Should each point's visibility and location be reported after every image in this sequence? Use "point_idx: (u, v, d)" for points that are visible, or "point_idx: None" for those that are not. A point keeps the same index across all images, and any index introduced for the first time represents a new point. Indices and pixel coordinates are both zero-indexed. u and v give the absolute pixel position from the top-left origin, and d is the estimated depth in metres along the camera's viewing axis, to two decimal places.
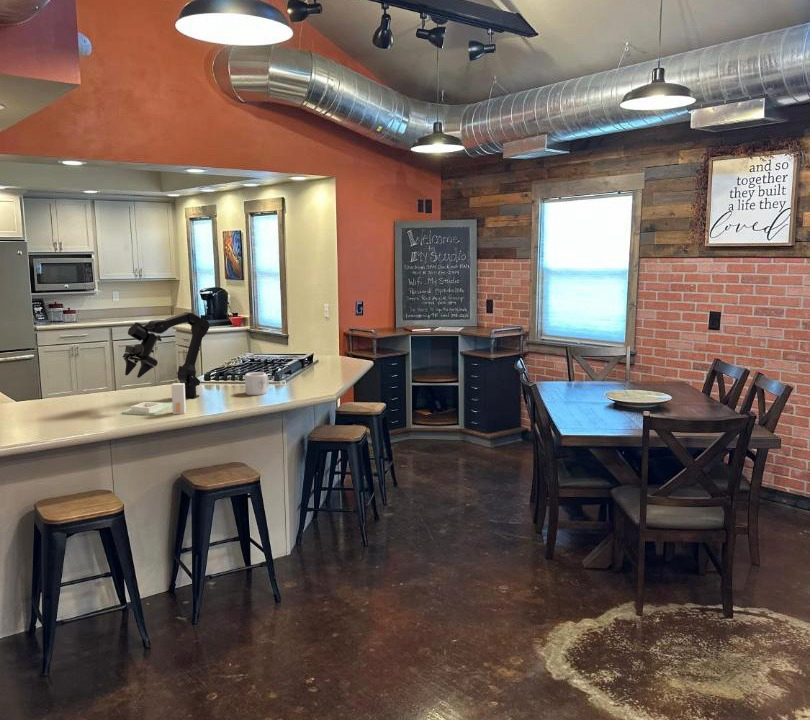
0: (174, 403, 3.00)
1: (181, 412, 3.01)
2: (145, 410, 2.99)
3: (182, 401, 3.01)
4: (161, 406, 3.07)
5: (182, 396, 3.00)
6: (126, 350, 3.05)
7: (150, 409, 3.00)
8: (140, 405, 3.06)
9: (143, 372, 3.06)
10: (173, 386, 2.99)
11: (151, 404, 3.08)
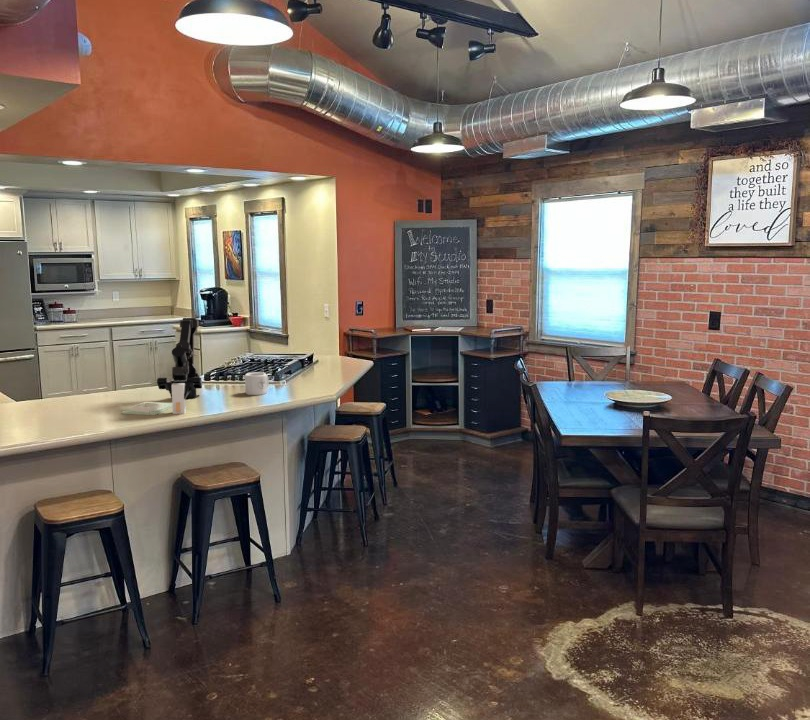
0: (174, 403, 3.00)
1: (181, 412, 3.01)
2: (145, 410, 2.99)
3: (182, 401, 3.01)
4: (161, 406, 3.07)
5: (182, 396, 3.00)
6: (175, 371, 3.00)
7: (150, 409, 3.00)
8: (140, 405, 3.06)
9: (187, 394, 3.04)
10: (173, 386, 2.99)
11: (151, 404, 3.08)
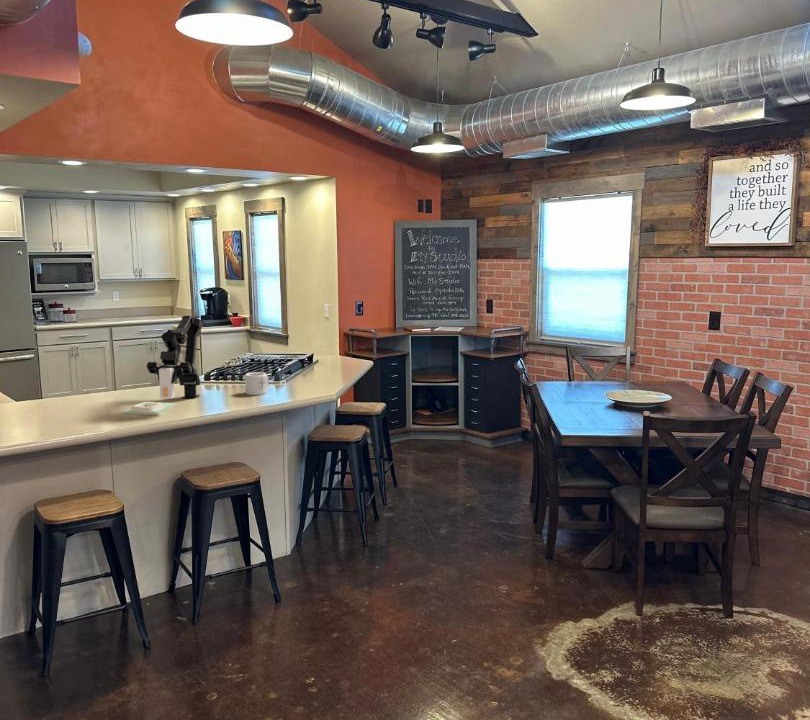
0: (161, 388, 2.99)
1: (168, 397, 3.00)
2: (145, 410, 2.99)
3: (169, 386, 2.99)
4: (161, 406, 3.07)
5: (169, 381, 2.99)
6: (163, 356, 2.99)
7: (150, 409, 3.00)
8: (140, 405, 3.06)
9: (175, 378, 3.02)
10: (160, 370, 2.98)
11: (151, 404, 3.08)
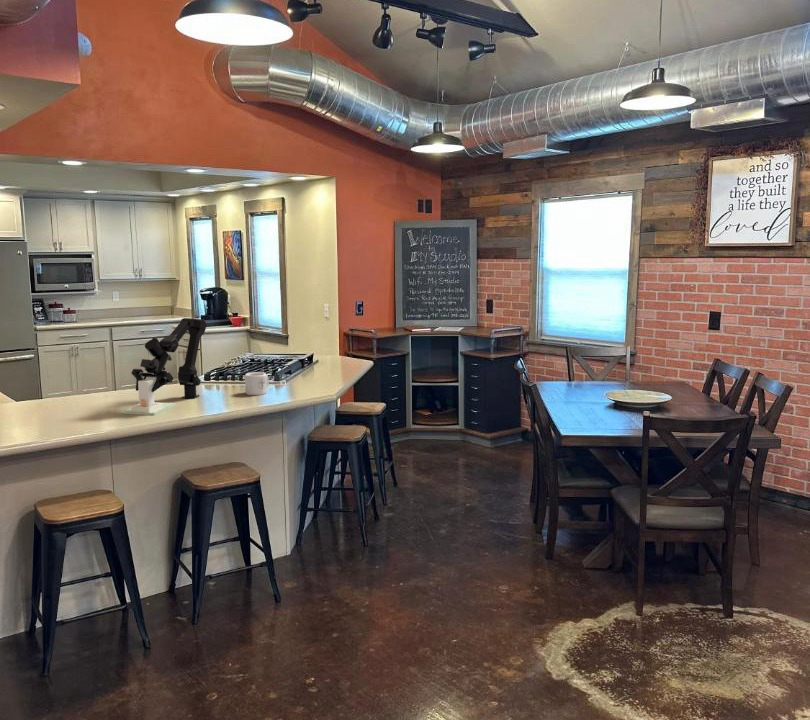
0: (140, 399, 3.03)
1: None
2: (145, 410, 2.99)
3: (147, 398, 3.01)
4: (161, 406, 3.07)
5: (147, 393, 3.01)
6: (143, 364, 3.01)
7: (150, 409, 3.00)
8: None
9: (157, 387, 3.03)
10: (139, 382, 3.01)
11: None
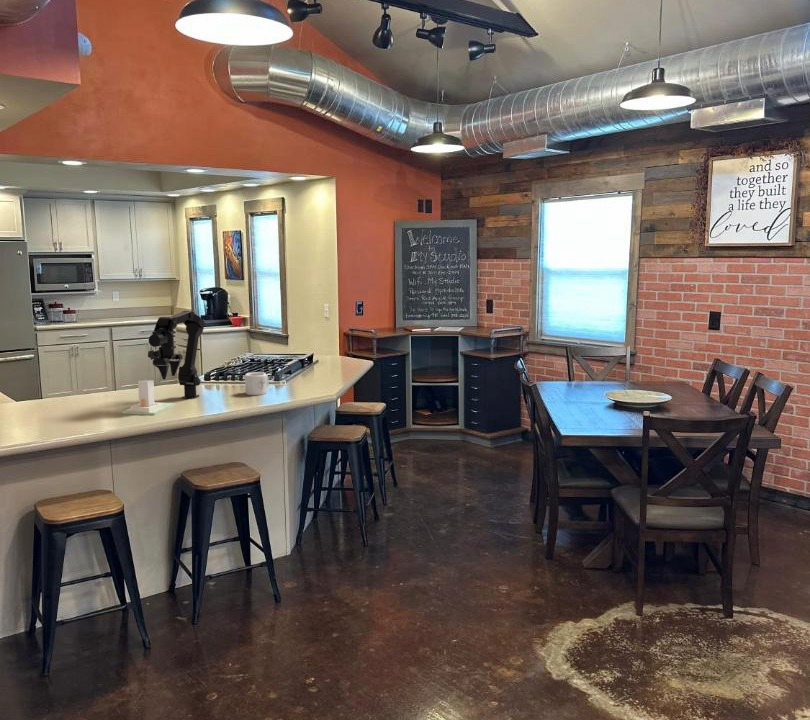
0: (140, 399, 3.03)
1: None
2: (145, 410, 2.99)
3: (147, 398, 3.01)
4: (161, 406, 3.07)
5: (147, 393, 3.01)
6: None
7: (150, 409, 3.00)
8: None
9: (164, 373, 3.10)
10: (139, 382, 3.01)
11: None
